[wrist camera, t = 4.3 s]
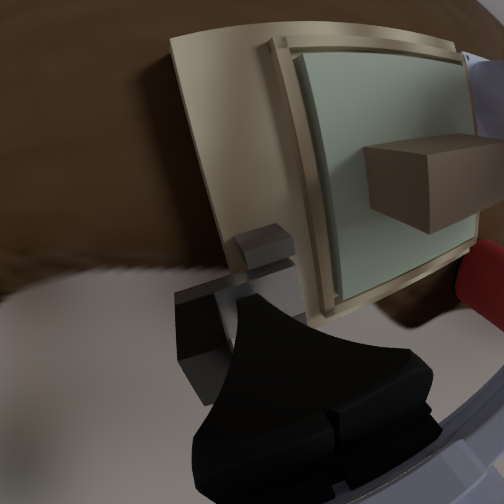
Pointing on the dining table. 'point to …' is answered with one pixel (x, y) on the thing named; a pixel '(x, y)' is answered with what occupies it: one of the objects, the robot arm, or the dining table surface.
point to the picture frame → (281, 146)
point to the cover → (395, 161)
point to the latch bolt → (226, 320)
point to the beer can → (483, 281)
